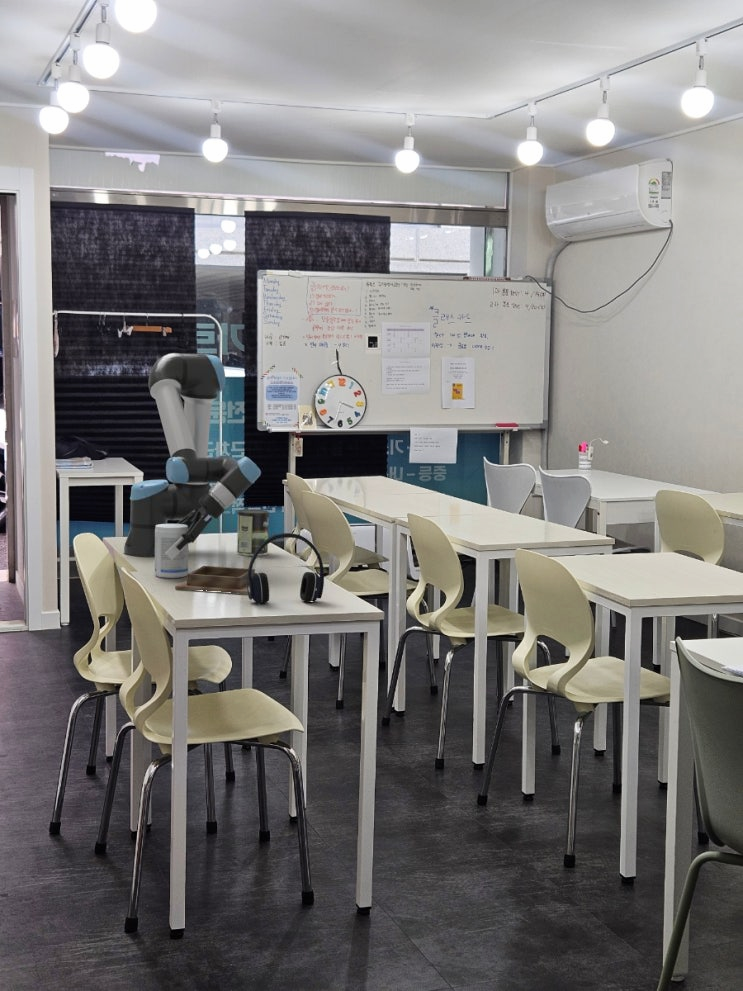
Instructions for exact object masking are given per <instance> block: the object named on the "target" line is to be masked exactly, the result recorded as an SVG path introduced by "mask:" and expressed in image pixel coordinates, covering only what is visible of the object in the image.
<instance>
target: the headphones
mask: <svg viewBox="0 0 743 991" xmlns="http://www.w3.org/2000/svg"><path fill="white" fill-rule="evenodd" d="M284 538H285V539H287V538H288V539H289V538H291V539H297V540H301V541H303V542H304V543H305V544H307V545H308V546H309V547H310V548H311V549H312V551H313V552H314V554H315V555H316V558H317V560H318V564H319V574H318V573H317V572H311V571H305V572H304V573H303V575H302V579H301V582H300V583H301V584H300V589H299V597H300V599H301V600H302V601H303V600H305V601H304V602H306V601H314V602H316V600H318V599H321V598H322V596H323V592H324V586H325V584H324V583H325V572H324V571H325V570H324V564H323V560H322V557H321V554H320V553H319V551H318V549H317V548H316V546H315V545H314V543H312V542H311V540H309V539H307V538H306V537H304V536H302V535H300V534H297V533H292V532H291V533H290V532H283V533H282V532H281V533H277V534H273V535H271V536H268V539H266V540H265V541H264V542H263V543H262V544H261V545H260V546H259V547H258V549H257V550H258V551H257V550H256V552H255V553H254V555H253V556H251V557H252V558H251V559H250V562H249V565H248V567H247V569H248V574H247V591H248V594H247V597H248V599H249V601H252V600H253V601H254V602H255V603H257V604H258V603H260V604H265V603H268V602H270V601H269V600H270V586H269V585H270V584H269V578H268V576H267V573H264V572H258V573H257V572H255V573H254V574H253V575H252V577H251V572H252V569H253V566H254V564H255V562H256V559H257V557H258V556H257V555H258V554H259V552H260V551H261V550H262V549H263V548H264V547H265V546H266V545H267V544H270V543H271V542H273V541H275V540H280V539H284Z"/></svg>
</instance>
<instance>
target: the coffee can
mask: <svg viewBox="0 0 743 991" xmlns="http://www.w3.org/2000/svg"><path fill="white" fill-rule="evenodd" d="M269 515H270V511H268V510H264V509H241V510H237V534H236V535H237V536H236V537H237V538H236V539H237V541H236V542H237V543H236V544H237V545H236V554H237V555H238V556H239V555H240V556H246V557H253V555H254V553H255V552H256V550H257V549H258V547H259V546H260V545H261V544H262V543H263V542H264V541H265V540H266V539H268V538H269V517H270V516H269ZM268 546H269V545H268V544H267V545H266V546H265V547H264V548H263V549H262V550H261V551H260V552H259V554H258V555H257V557H262V556H267V555H268V554H269V552H268ZM257 551H258V550H257Z"/></svg>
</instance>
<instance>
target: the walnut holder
mask: <svg viewBox="0 0 743 991" xmlns="http://www.w3.org/2000/svg"><path fill="white" fill-rule="evenodd" d="M254 573H256V569H254V568H252V572H251V577H252V575H253V574H254ZM247 574H248V568H244V567H243V568H240V567H227V566H226V567H225V566H211V565H210V566H209V565H202V566H201V567H198V568H197V569H195V570H193V571H191V572H188V574H187V575H186V580H183V581H182V582H180V583H178V584H176V585H175V586H174V590H175V589H176V590H175V591H186V590H203V591H206V590H207V591H221V592H231V593H239V594H238V595H241V594H247V595H248V591H247Z"/></svg>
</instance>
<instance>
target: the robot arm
mask: <svg viewBox="0 0 743 991" xmlns="http://www.w3.org/2000/svg"><path fill="white" fill-rule="evenodd" d="M225 373H226V372H225V368H224V364H223V362H222V360H221V359H220V357H218V356H216V355H212V354H206V353H179V352H171V353H167V354H165V355H162V356H161V357H160V358H158V359H157V361H155V363H154V365H153V366H152V368H151V370H150V372H149V375H148V389H149V392H150V396H151V397H152V398H153V399H155V403H156V405H157V406H156V407H157V410H158V413H159V417H160V421H161V425H162V428H163V433H164V437H165V440H166V444H167V447H168V451H169V455H170V457H169V458H168V459H167V460H166V466H165V470H166V471H165V472H166V473H165V474H166V478H167V479H150V480H143V481H139V482H135V483H134V484H133V485H132V486H131V489H130V490H131V491H130V497H129V500H130V518H129V522H130V524H129V527H130V528H129V531H128V534H127V537H126V540H125V543H124V546H123V552H124V554H125V555H129V556H136V557H155V527H156V525H158V524H168V521H178V522H177V523H175V524H184V525H187V526H188V530H187V532H186V533H185V534H182V535H181V536H182V537H183V538H184V539H183V538H182V537H181V538H180V539H179V540H178V541H177V542H176V543H175V544H174V545H173V546H172V547H171V548H170V549H169V550H168V551H167V552H166V553H165V554H166V555H167V556H168V557H169V558H170V559H171V560H173V559H174V558H175V557H176V556H177V555H178V554H179V553H180V552H181V551H182V550H183V549H184V548H185V547H186V546H187V545H188V546H189V544H193V543H194V542H195V541H196V540H197V538H198V537H199V536H200V535H201V533H202V532H203V531H204V529H205V528H206V527H207V526H208V524H210V522H211V521H212V520H213V518H214V519H215V520H217V519H218V518H219V517H221V515H223V514H224V512H225V509H228V508H230V506H234V505H235V501H236V500H237V499H238V498H240V496H242V495H243V493H245V492H246V491H247V490H248V489H249V488H250V487H251V486H252V485H253V484H255V481H257V480H258V478H260V476H261V474H262V471H261V469H260V468H259V467H258V466H257V464H256V463H255V462H253V460H251V458H249V457H247V456H242V457H241V458H240V459H238V460H236V459H235V458H233V457H232V456H230V455H225V454H219V455H217V456H216V457H208V451H209V440H210V425H211V416H212V406H213V402H215V401H216V400H217V399H218V393H221V392H223V391H224V389H225V385H226V374H225ZM182 399H183V400H184V403H183V401H182ZM183 404H184V405H183ZM169 482H171V484H170V483H169ZM213 484H214V485H213Z"/></svg>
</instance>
